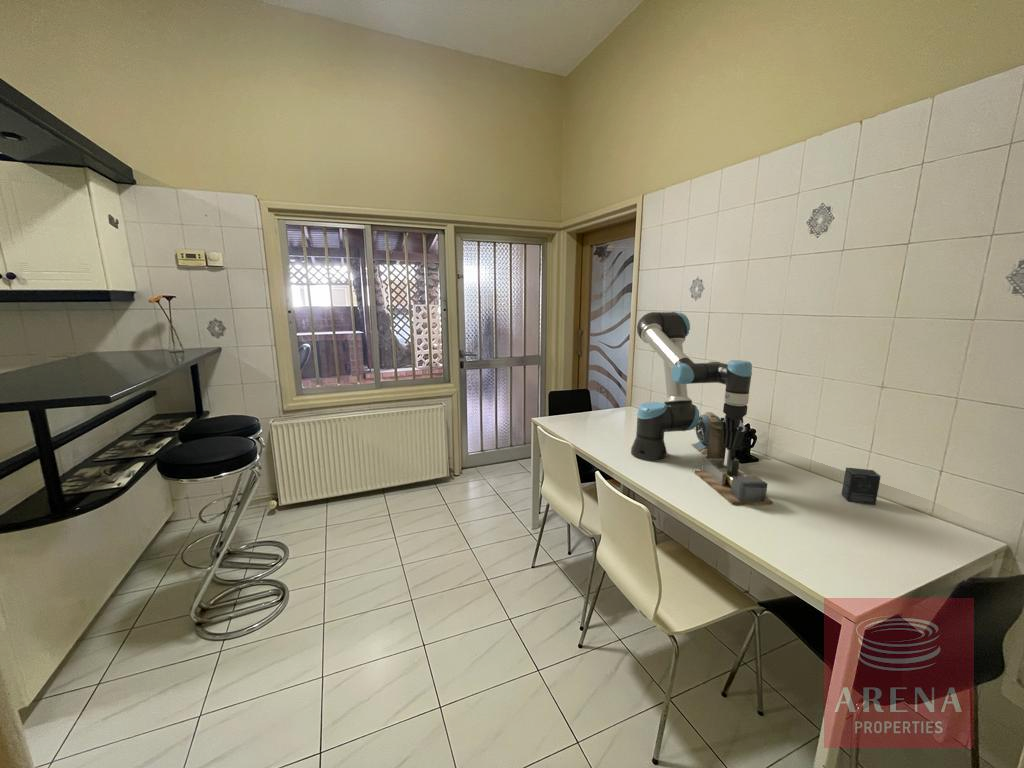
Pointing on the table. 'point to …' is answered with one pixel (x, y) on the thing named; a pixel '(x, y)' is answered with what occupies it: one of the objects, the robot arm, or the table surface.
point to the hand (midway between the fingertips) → (728, 465)
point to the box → (860, 485)
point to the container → (715, 442)
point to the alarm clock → (704, 431)
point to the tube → (731, 470)
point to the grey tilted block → (717, 470)
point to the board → (726, 490)
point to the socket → (748, 488)
